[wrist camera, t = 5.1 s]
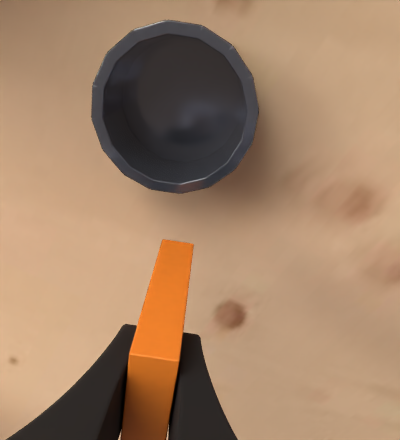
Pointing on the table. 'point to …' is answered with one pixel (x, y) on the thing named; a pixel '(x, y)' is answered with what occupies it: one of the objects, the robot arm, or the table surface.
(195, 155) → the cup
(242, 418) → the table surface
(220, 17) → the table surface
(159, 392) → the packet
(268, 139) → the table surface
